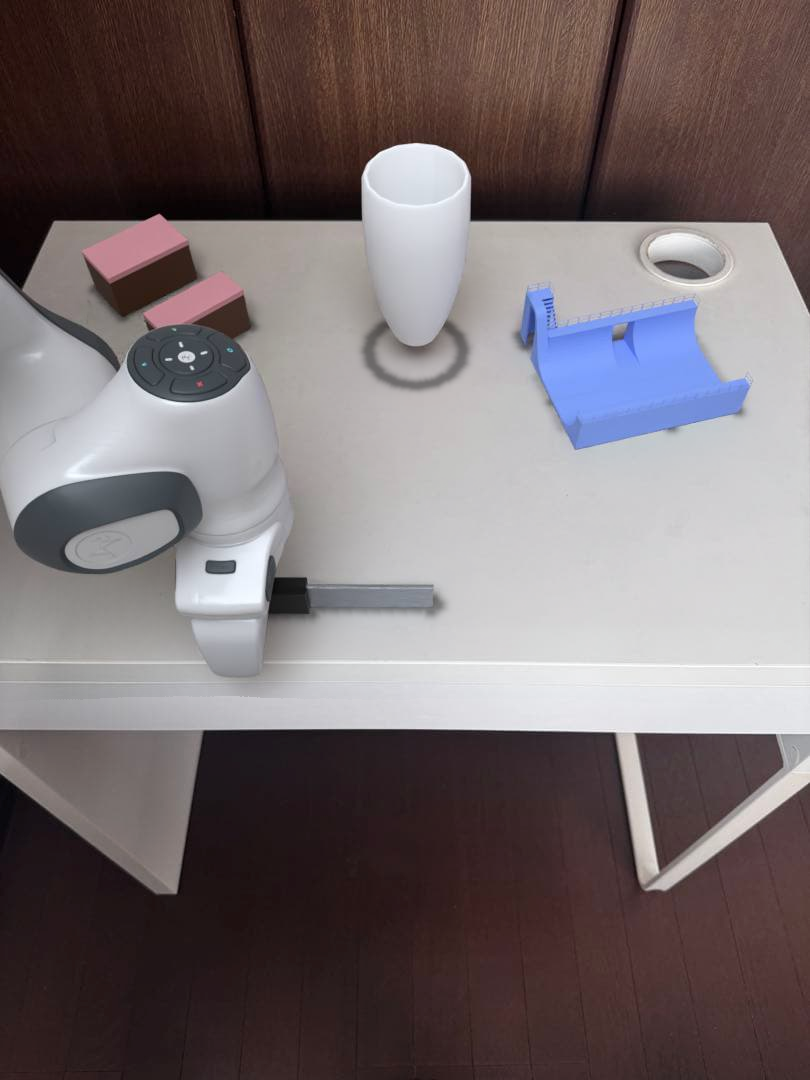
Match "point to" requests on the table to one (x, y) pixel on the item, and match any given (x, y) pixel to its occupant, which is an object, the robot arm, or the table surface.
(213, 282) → the cake slice
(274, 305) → the table surface
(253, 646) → the robot arm
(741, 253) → the table surface
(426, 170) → the cup
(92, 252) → the cake
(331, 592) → the knife
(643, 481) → the table surface
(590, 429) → the half pipe
